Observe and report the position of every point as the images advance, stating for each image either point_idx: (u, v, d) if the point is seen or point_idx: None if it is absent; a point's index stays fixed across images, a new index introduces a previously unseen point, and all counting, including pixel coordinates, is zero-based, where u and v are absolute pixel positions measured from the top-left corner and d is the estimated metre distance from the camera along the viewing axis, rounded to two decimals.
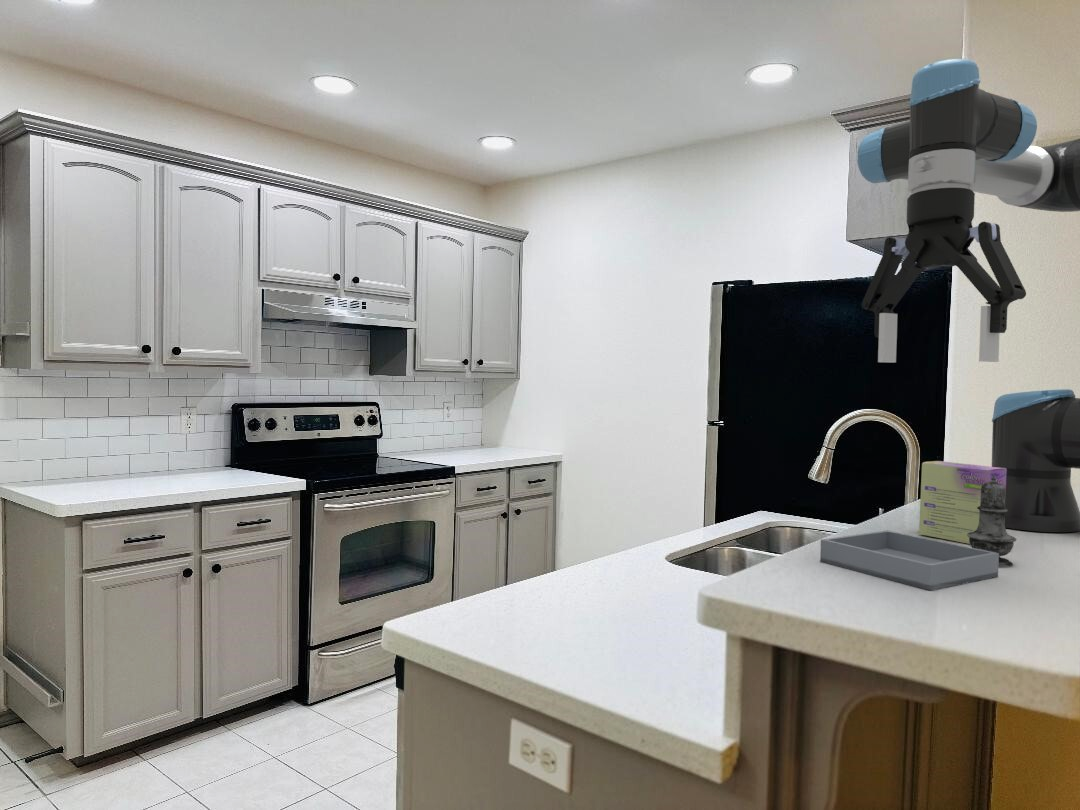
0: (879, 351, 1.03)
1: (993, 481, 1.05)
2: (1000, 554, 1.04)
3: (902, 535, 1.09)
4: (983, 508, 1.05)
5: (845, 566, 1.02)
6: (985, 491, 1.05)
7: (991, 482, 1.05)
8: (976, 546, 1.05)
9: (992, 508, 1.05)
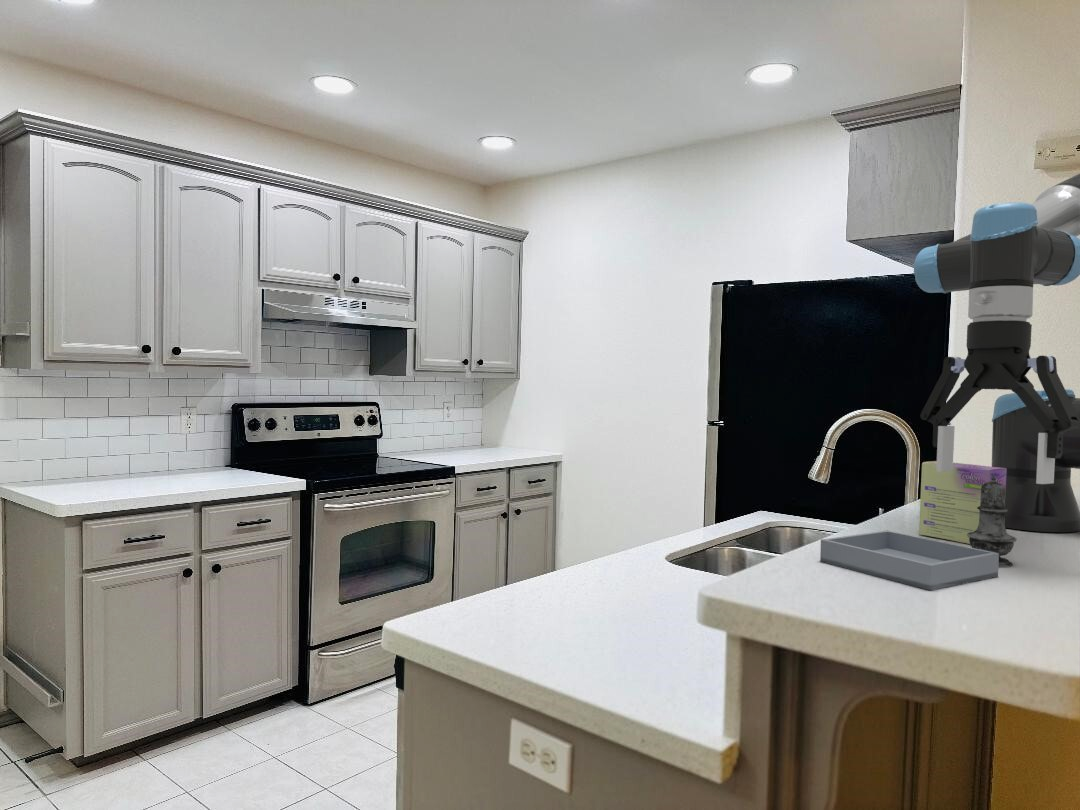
0: (937, 461, 1.11)
1: (993, 481, 1.05)
2: (1000, 554, 1.04)
3: (902, 535, 1.09)
4: (983, 508, 1.05)
5: (845, 566, 1.02)
6: (985, 491, 1.05)
7: (991, 482, 1.05)
8: (976, 546, 1.05)
9: (992, 508, 1.05)
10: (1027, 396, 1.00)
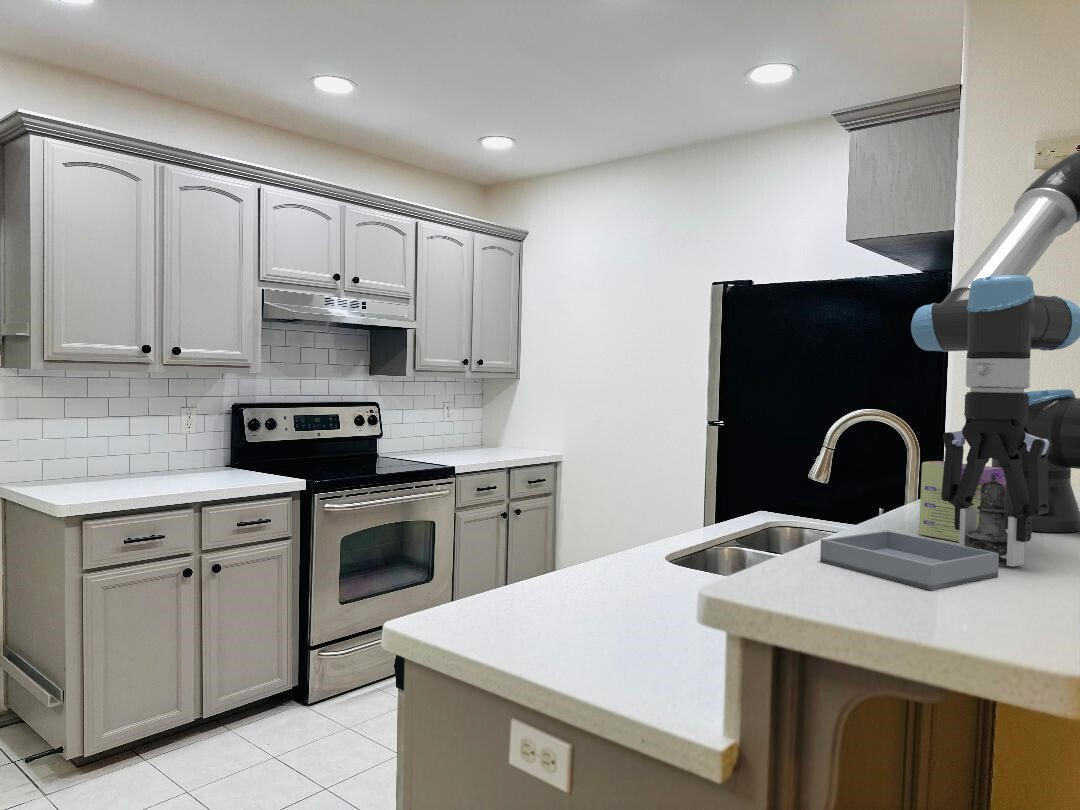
0: None
1: (993, 481, 1.05)
2: (1000, 554, 1.04)
3: (902, 535, 1.09)
4: (983, 508, 1.05)
5: (845, 566, 1.02)
6: (985, 491, 1.05)
7: (991, 482, 1.05)
8: (976, 545, 1.05)
9: (992, 508, 1.05)
10: (1011, 475, 1.02)
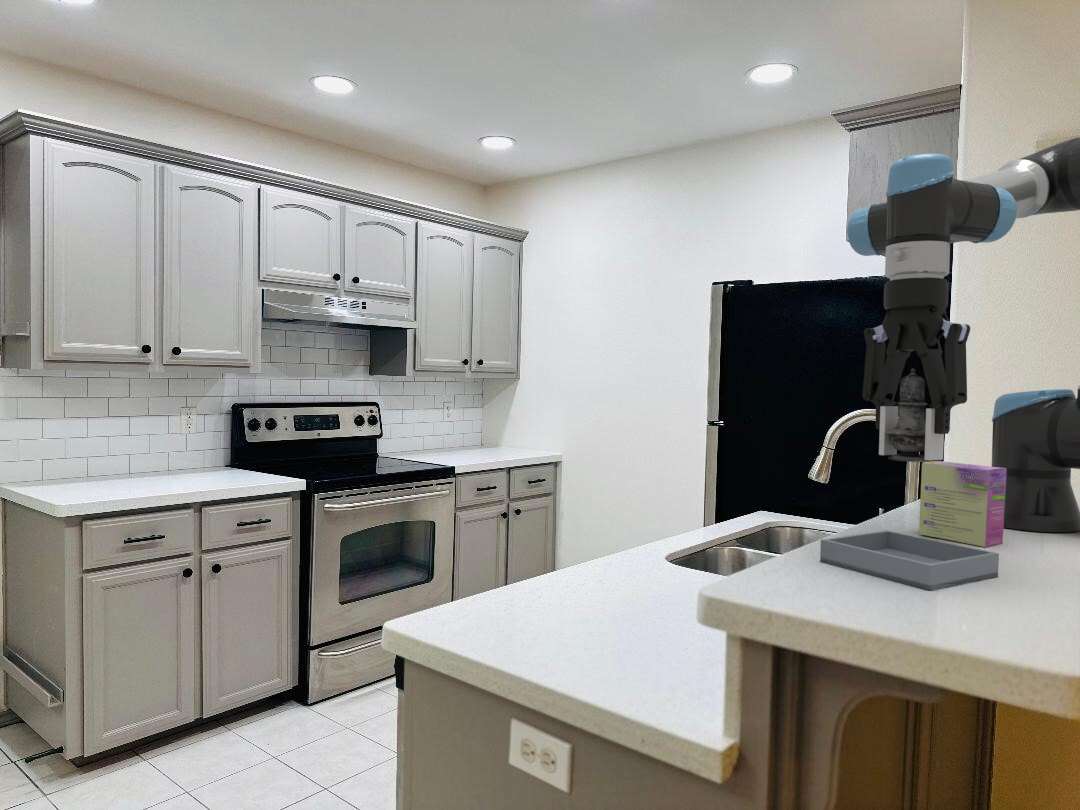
0: (880, 444, 1.04)
1: (912, 374, 1.00)
2: (918, 449, 0.99)
3: (902, 535, 1.09)
4: (901, 402, 1.00)
5: (845, 566, 1.02)
6: (904, 384, 1.00)
7: (910, 374, 1.01)
8: (894, 441, 1.00)
9: (911, 401, 1.00)
10: (929, 365, 0.98)
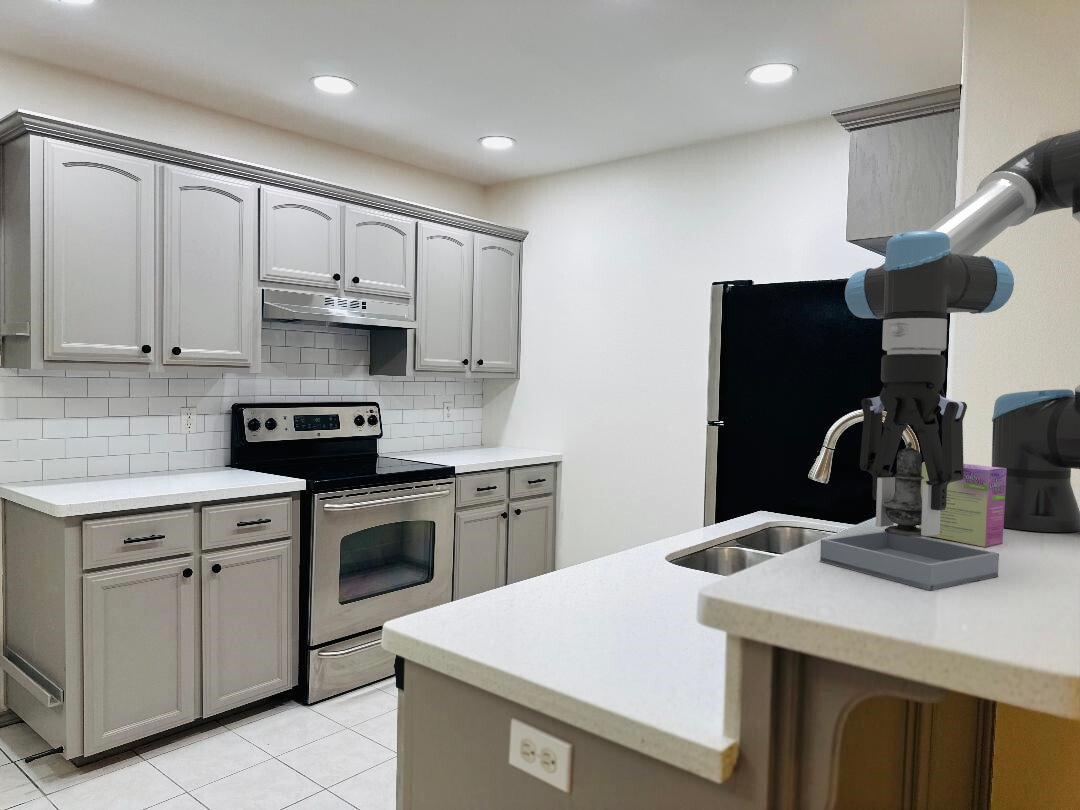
0: (877, 515, 1.04)
1: (909, 448, 1.01)
2: (915, 523, 0.99)
3: None
4: (898, 475, 1.01)
5: (845, 566, 1.02)
6: (901, 458, 1.01)
7: (907, 448, 1.01)
8: (891, 515, 1.01)
9: (908, 475, 1.00)
10: (926, 441, 0.98)
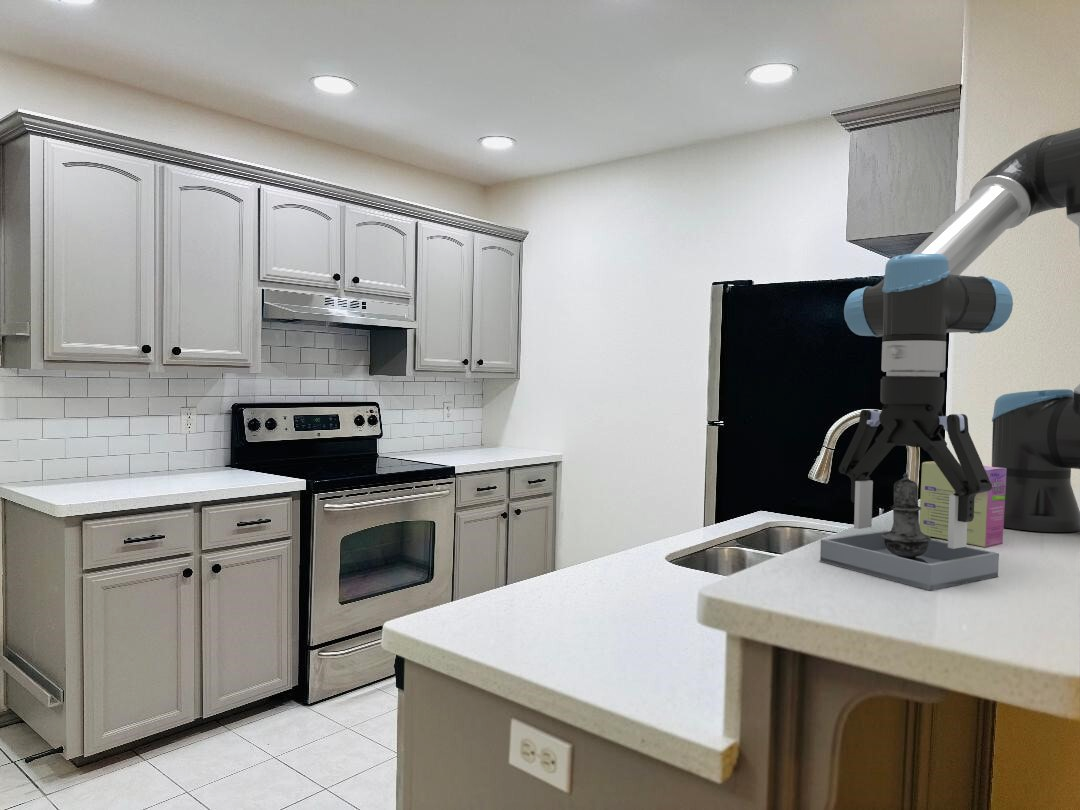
0: (855, 517, 1.07)
1: (905, 479, 1.01)
2: (914, 555, 1.00)
3: None
4: (896, 507, 1.01)
5: (845, 566, 1.02)
6: (897, 489, 1.01)
7: (903, 479, 1.01)
8: (890, 547, 1.01)
9: (905, 507, 1.00)
10: (938, 456, 0.96)
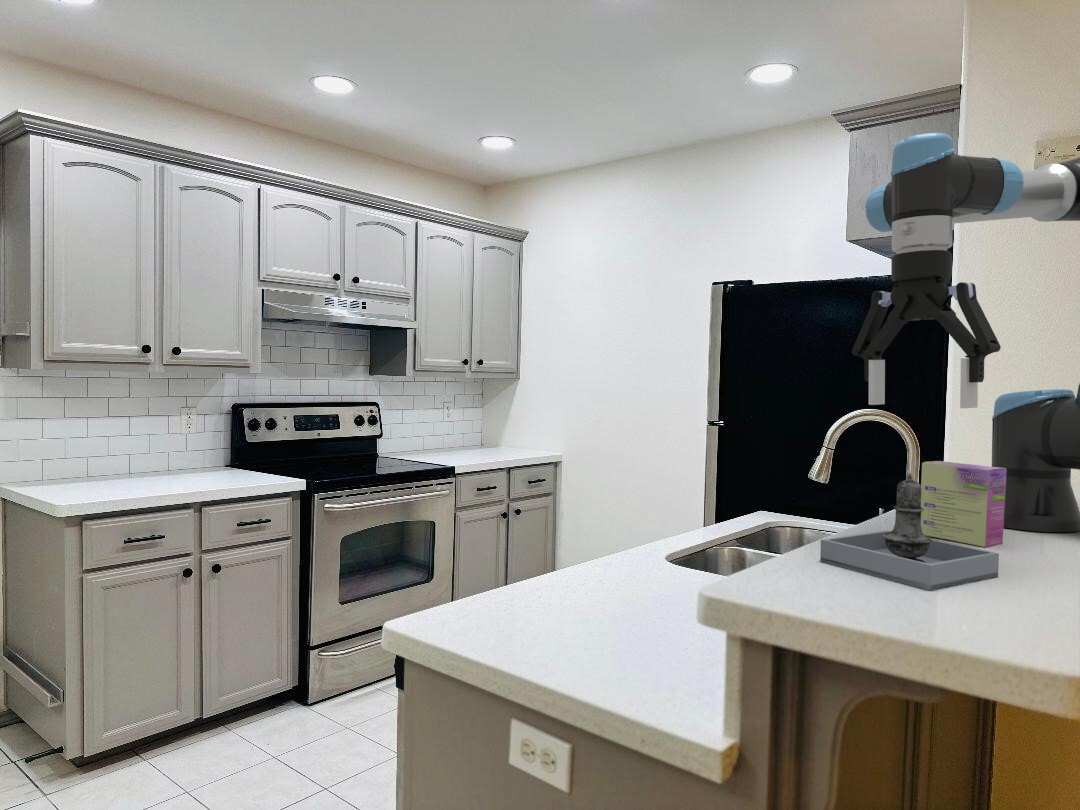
0: (869, 394, 1.13)
1: (909, 480, 1.01)
2: (915, 556, 1.00)
3: None
4: (898, 507, 1.01)
5: (845, 566, 1.02)
6: (901, 490, 1.01)
7: (907, 480, 1.01)
8: (891, 547, 1.01)
9: (908, 508, 1.00)
10: (949, 323, 1.02)
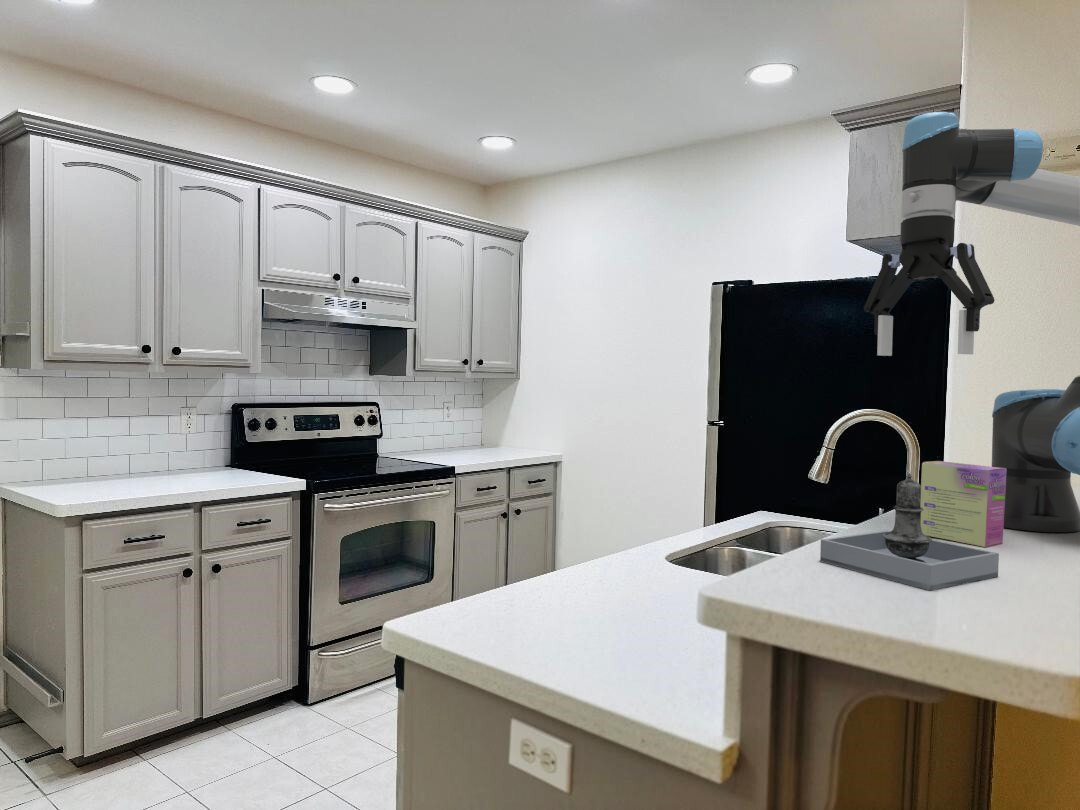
0: (878, 346, 1.26)
1: (909, 480, 1.01)
2: (915, 556, 1.00)
3: None
4: (898, 507, 1.01)
5: (845, 566, 1.02)
6: (900, 490, 1.01)
7: (907, 480, 1.01)
8: (891, 547, 1.01)
9: (908, 508, 1.00)
10: (950, 279, 1.16)
